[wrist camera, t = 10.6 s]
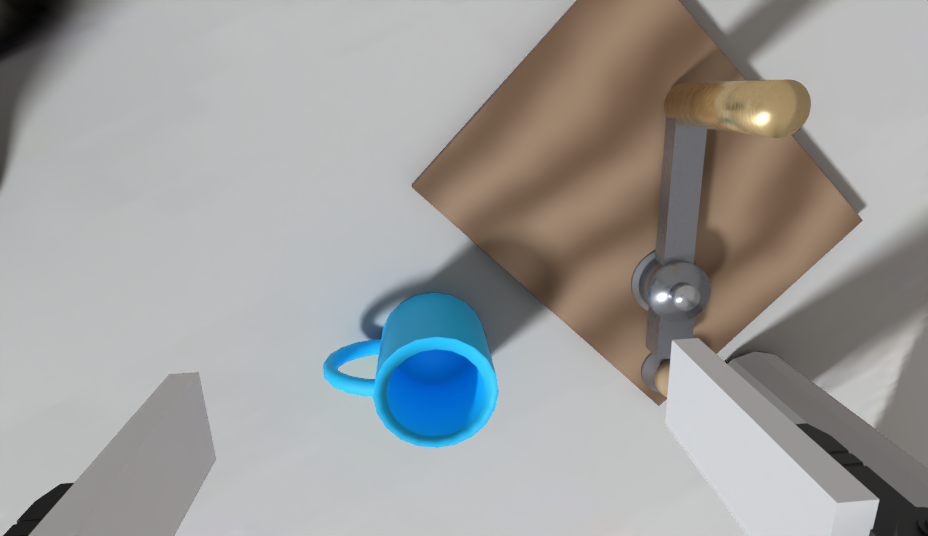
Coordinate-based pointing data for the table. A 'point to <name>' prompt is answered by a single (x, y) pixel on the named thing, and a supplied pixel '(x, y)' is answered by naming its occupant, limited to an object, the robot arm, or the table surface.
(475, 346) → the mug
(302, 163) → the table surface
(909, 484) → the water bottle
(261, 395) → the table surface
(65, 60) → the table surface
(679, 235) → the lever
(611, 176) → the nutcracker base
